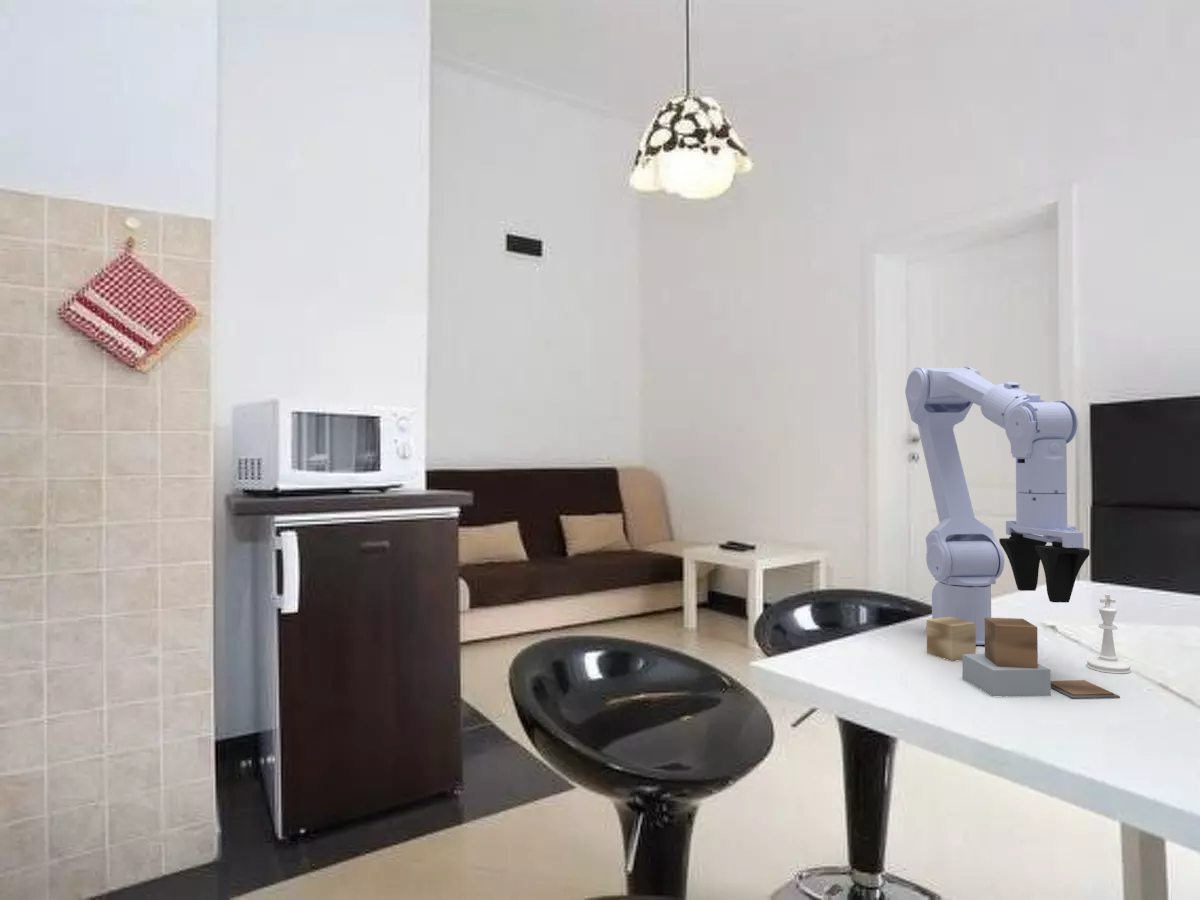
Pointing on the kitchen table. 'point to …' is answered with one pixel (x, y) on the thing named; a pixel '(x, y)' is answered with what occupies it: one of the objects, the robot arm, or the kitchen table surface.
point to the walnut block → (1011, 642)
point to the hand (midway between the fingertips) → (1042, 595)
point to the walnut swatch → (1081, 689)
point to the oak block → (950, 638)
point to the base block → (1005, 677)
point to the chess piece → (1108, 643)
